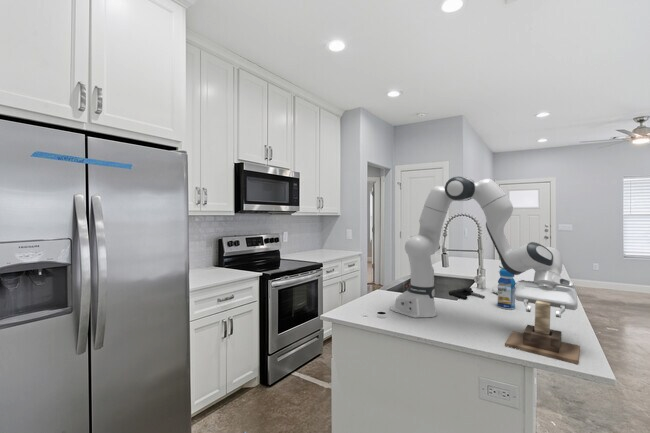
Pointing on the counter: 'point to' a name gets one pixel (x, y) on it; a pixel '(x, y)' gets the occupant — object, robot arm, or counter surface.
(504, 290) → the beverage bottle
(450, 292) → the door handle
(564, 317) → the counter surface
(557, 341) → the square hole base plate
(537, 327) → the upright wooden square peg
